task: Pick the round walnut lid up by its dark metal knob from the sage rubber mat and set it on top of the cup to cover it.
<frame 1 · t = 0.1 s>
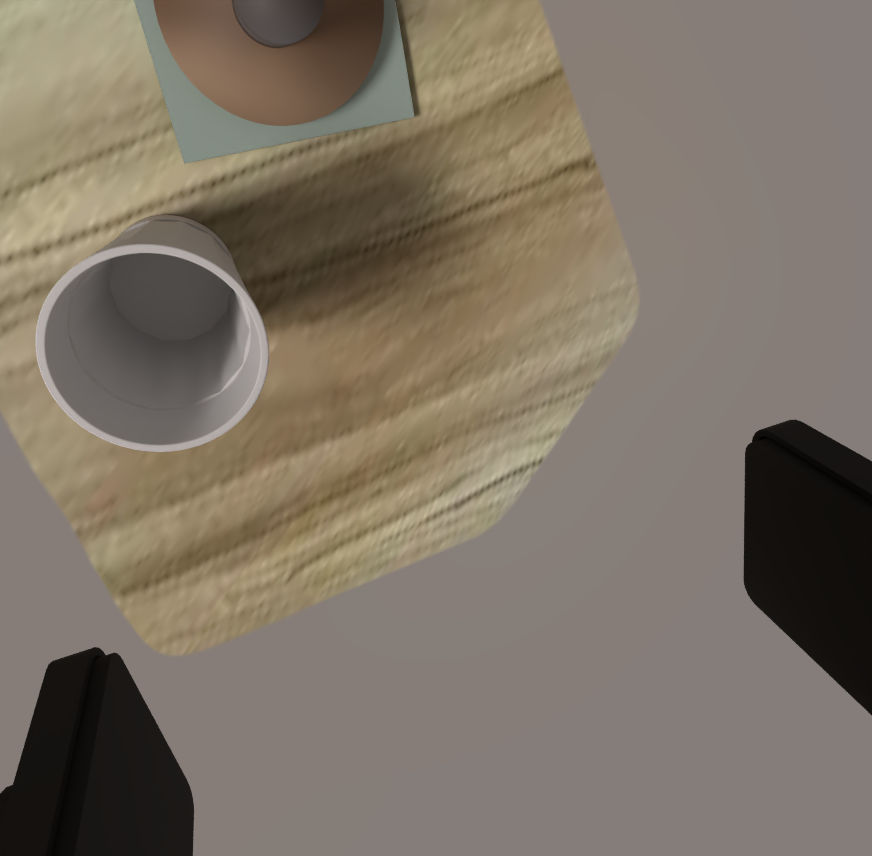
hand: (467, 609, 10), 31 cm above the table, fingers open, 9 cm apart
cup: (173, 277, 37), on the table
lid: (271, 5, 33), resting on mat
mat: (270, 6, 33), on the table
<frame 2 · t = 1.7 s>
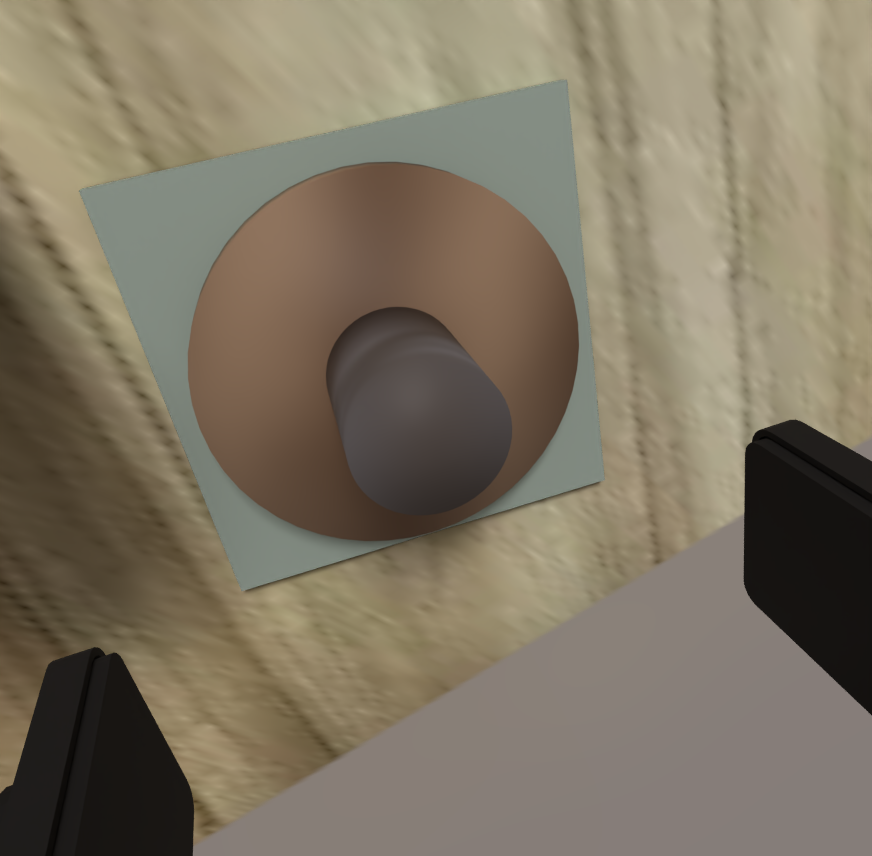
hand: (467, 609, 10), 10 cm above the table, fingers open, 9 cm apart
lid: (388, 360, 19), resting on mat
mat: (385, 355, 20), on the table
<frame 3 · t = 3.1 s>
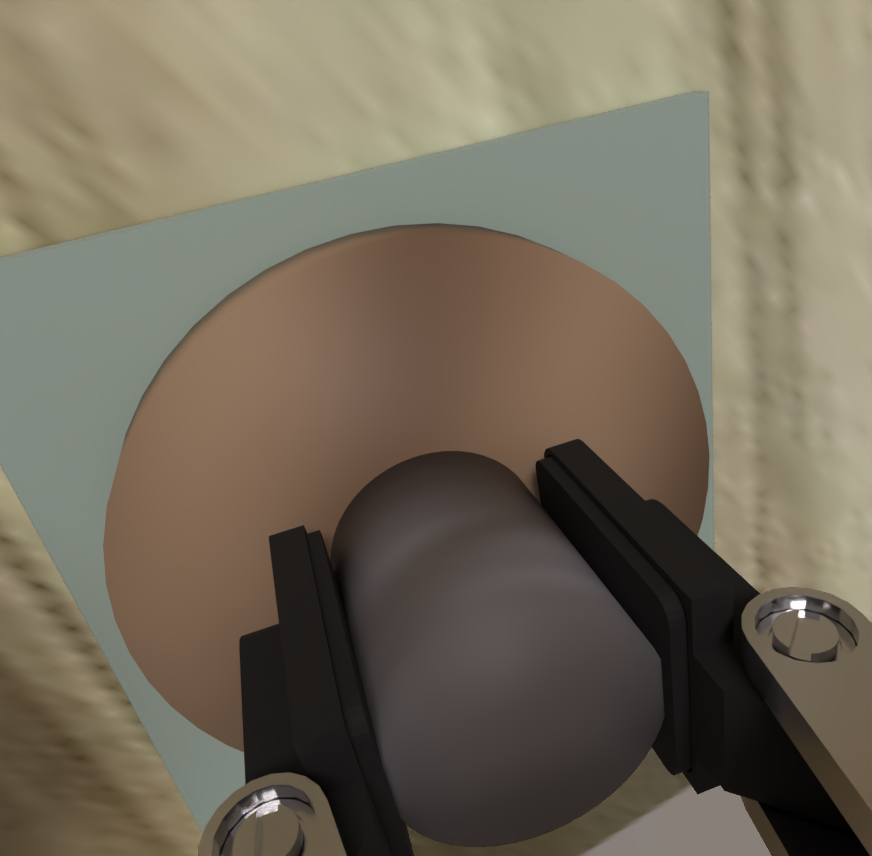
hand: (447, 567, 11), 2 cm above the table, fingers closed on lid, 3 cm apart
lid: (422, 516, 13), resting on mat, touching gripper
mat: (416, 504, 13), on the table
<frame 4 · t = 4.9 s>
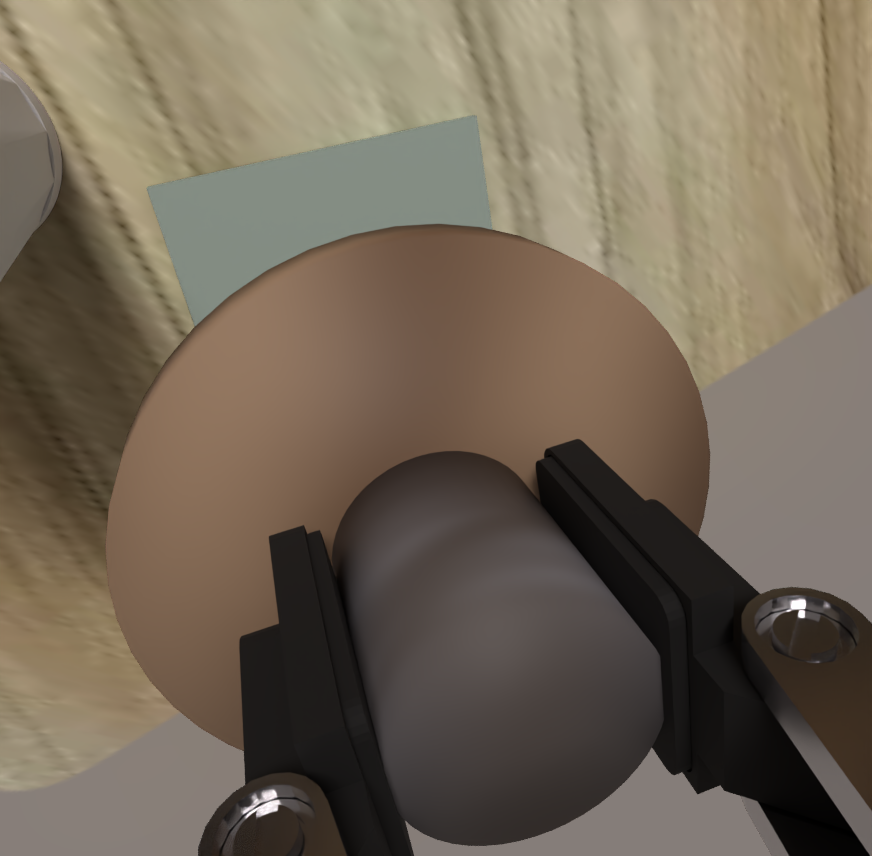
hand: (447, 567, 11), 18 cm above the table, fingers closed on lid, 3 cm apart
lid: (423, 516, 13), point 16 cm above the table, touching gripper
mat: (354, 307, 28), on the table
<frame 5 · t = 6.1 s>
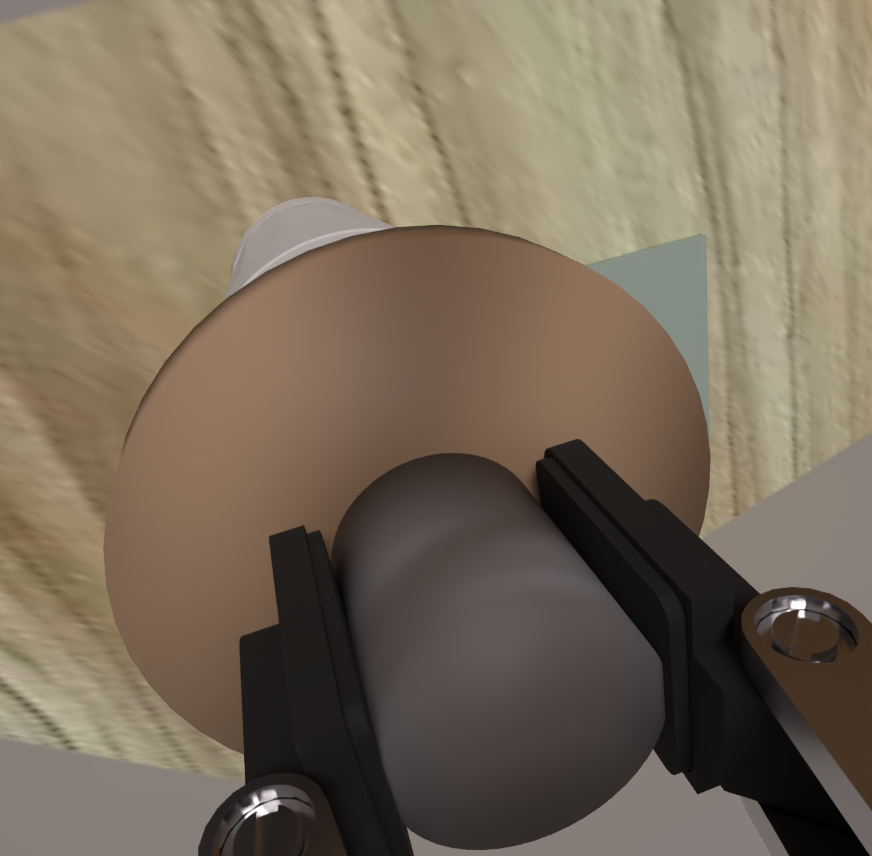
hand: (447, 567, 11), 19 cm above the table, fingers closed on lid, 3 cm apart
cup: (314, 280, 28), on the table
lid: (423, 517, 13), point 18 cm above the table, touching gripper
mat: (592, 387, 34), on the table
when the fingers open (15 cm above the table, at t = 7.0 s): lid drops 2 cm, resting on cup.
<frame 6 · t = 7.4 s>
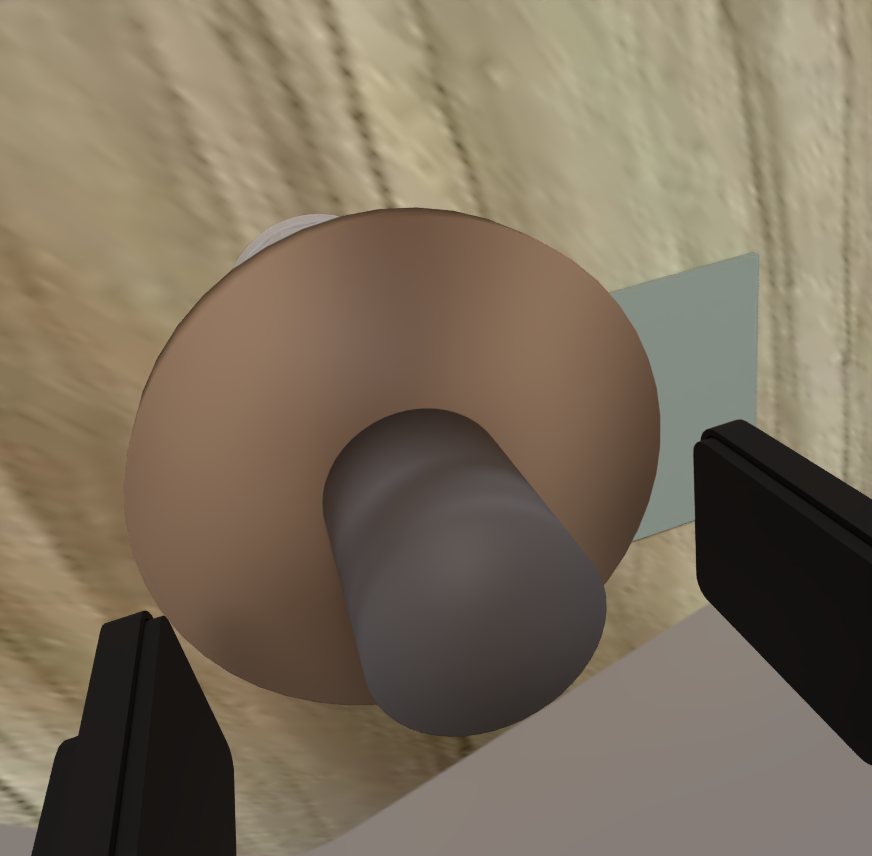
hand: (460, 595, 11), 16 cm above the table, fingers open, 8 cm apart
cup: (320, 308, 25), on the table, touching lid
lid: (405, 470, 14), point 12 cm above the table, touching cup
mat: (628, 422, 30), on the table
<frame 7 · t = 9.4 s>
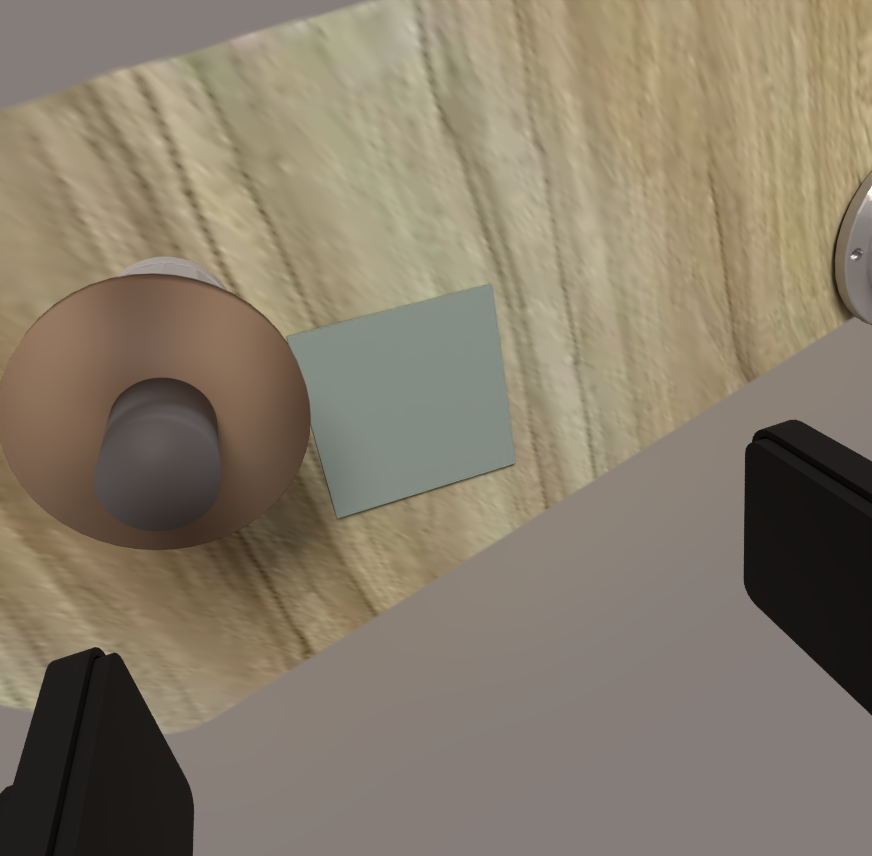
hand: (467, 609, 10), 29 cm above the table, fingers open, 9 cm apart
cup: (170, 319, 36), on the table, touching lid
lid: (164, 414, 26), point 12 cm above the table, touching cup
mat: (410, 403, 42), on the table
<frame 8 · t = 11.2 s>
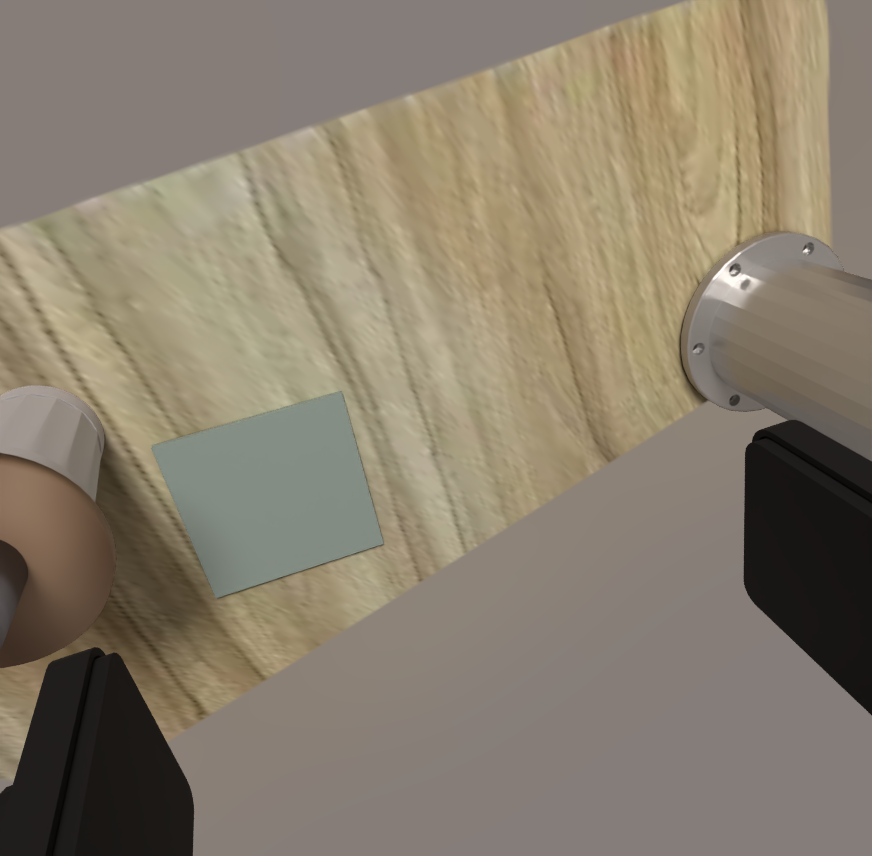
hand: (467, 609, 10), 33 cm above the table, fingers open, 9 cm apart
cup: (43, 436, 41), on the table, touching lid
mat: (276, 496, 46), on the table
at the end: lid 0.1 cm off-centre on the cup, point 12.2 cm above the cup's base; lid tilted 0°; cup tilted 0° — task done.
